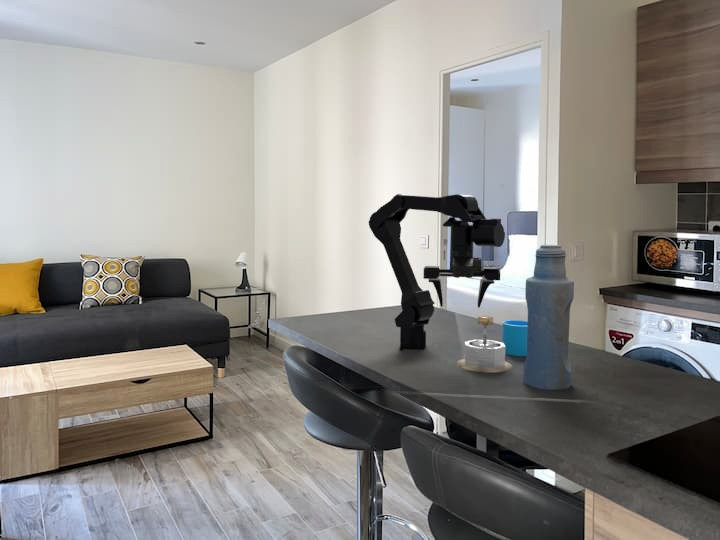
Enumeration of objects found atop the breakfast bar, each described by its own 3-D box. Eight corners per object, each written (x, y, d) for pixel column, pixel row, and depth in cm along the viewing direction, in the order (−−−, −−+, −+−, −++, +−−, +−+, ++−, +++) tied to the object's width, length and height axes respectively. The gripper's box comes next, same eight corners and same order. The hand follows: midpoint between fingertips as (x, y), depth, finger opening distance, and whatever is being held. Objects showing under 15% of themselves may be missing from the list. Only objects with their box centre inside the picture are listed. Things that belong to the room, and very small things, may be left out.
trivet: (457, 373, 129) (457, 370, 129) (455, 358, 142) (455, 356, 142) (515, 375, 127) (515, 373, 127) (508, 360, 140) (508, 358, 140)
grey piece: (465, 369, 131) (466, 347, 130) (463, 355, 143) (463, 336, 142) (506, 370, 129) (506, 349, 129) (500, 357, 141) (501, 337, 141)
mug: (539, 357, 144) (541, 325, 143) (510, 358, 142) (511, 326, 142) (517, 346, 156) (518, 317, 155) (489, 347, 154) (490, 318, 153)
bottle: (565, 395, 113) (571, 247, 110) (516, 387, 119) (521, 245, 116) (575, 383, 121) (581, 244, 118) (529, 376, 127) (533, 243, 124)
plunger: (472, 349, 131) (473, 319, 131) (471, 344, 137) (471, 314, 137) (498, 350, 131) (499, 319, 130) (496, 344, 137) (497, 315, 136)
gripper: (424, 246, 133) (422, 311, 135) (504, 248, 131) (502, 313, 133) (424, 244, 144) (423, 303, 146) (498, 245, 142) (496, 306, 144)
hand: (460, 306), depth 142 cm, fingers open, 9 cm apart
